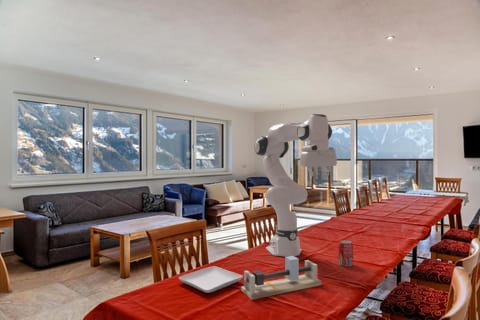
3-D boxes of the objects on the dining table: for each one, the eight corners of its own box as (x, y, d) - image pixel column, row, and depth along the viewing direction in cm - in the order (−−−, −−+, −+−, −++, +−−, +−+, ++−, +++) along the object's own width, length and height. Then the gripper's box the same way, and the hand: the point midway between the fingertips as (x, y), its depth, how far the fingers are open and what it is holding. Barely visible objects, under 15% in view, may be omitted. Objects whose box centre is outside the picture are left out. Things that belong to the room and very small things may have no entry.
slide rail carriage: (285, 277, 142) (285, 257, 142) (293, 276, 144) (292, 255, 144) (290, 281, 138) (290, 260, 138) (298, 279, 140) (298, 258, 140)
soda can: (341, 261, 171) (341, 239, 171) (355, 264, 166) (355, 241, 166) (336, 265, 165) (336, 242, 165) (350, 268, 161) (350, 244, 161)
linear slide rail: (241, 290, 137) (240, 270, 136) (308, 276, 150) (307, 258, 150) (251, 299, 127) (251, 278, 127) (321, 284, 141) (321, 265, 141)
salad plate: (177, 284, 145) (177, 276, 145) (213, 271, 160) (213, 264, 160) (207, 298, 130) (206, 290, 130) (244, 283, 145) (244, 275, 145)
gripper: (330, 147, 165) (330, 174, 165) (298, 147, 155) (298, 176, 155) (339, 147, 159) (340, 175, 159) (307, 147, 149) (307, 177, 149)
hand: (319, 175), depth 157 cm, fingers open, 8 cm apart
